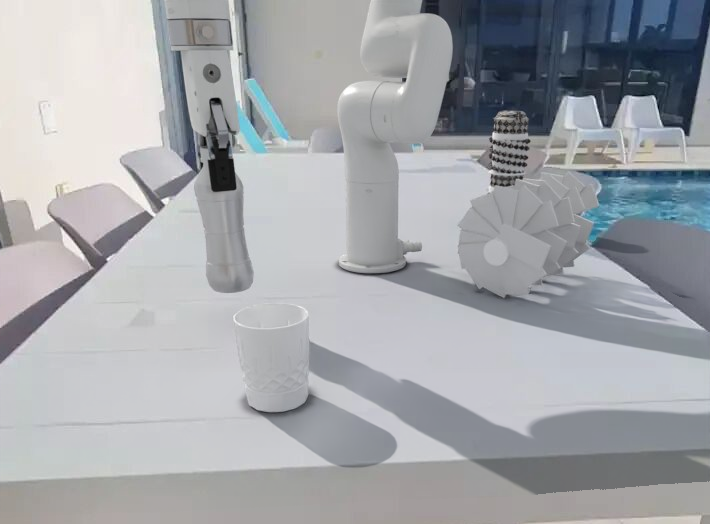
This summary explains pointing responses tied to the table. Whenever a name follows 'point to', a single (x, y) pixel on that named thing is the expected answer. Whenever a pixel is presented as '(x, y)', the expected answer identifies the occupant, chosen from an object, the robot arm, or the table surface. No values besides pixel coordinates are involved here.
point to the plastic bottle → (223, 233)
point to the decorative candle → (508, 148)
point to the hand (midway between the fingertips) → (219, 185)
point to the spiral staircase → (525, 232)
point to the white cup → (274, 355)
